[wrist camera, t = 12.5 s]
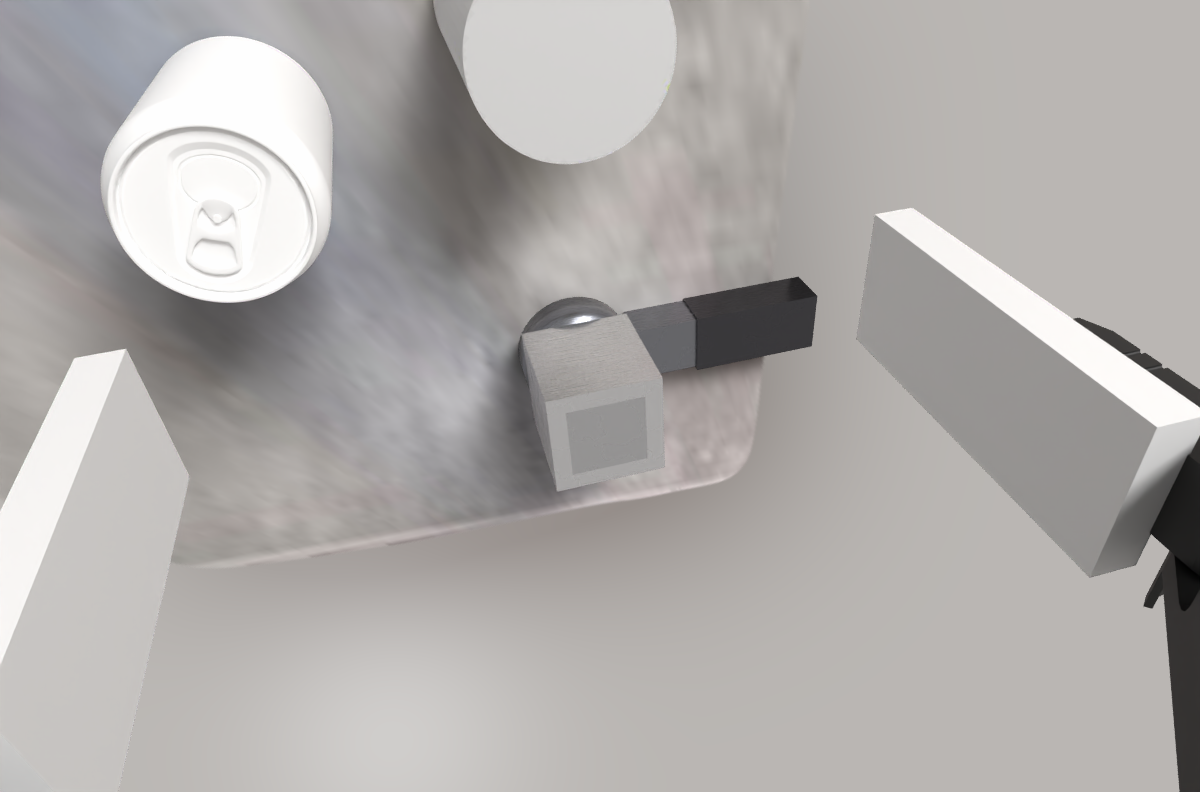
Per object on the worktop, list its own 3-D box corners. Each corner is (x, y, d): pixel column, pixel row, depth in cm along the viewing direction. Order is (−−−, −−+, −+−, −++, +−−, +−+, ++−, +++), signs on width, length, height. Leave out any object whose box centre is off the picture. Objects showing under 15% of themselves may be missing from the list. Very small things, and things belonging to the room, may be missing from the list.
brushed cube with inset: (533, 418, 51) (557, 491, 46) (521, 333, 48) (545, 402, 42) (630, 398, 52) (664, 467, 47) (626, 313, 49) (662, 377, 43)
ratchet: (525, 399, 53) (548, 472, 48) (511, 308, 49) (535, 375, 43) (791, 345, 57) (844, 407, 51) (800, 254, 52) (858, 311, 47)
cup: (493, 115, 42) (537, 202, 33) (397, -34, 37) (416, 18, 28) (625, 26, 42) (709, 90, 32) (544, -139, 37) (615, -120, 27)
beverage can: (343, 58, 39) (344, 136, 30) (322, 214, 43) (318, 326, 34) (154, 11, 36) (88, 81, 27) (151, 183, 40) (93, 298, 31)
